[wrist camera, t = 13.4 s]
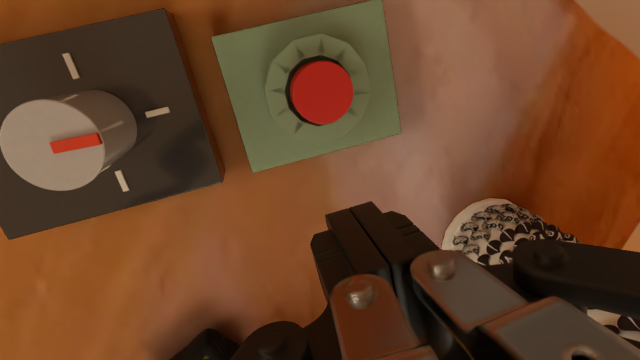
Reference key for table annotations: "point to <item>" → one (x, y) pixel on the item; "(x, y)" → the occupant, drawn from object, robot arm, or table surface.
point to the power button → (321, 91)
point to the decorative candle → (505, 234)
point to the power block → (283, 62)
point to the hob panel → (141, 98)
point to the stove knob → (67, 138)
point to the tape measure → (208, 347)
